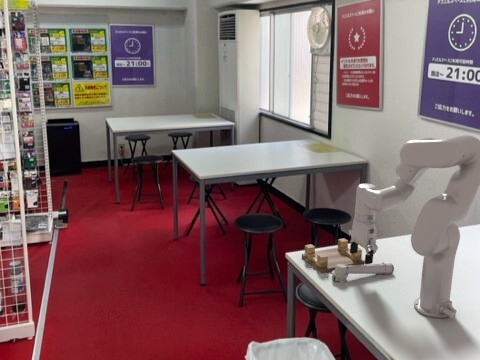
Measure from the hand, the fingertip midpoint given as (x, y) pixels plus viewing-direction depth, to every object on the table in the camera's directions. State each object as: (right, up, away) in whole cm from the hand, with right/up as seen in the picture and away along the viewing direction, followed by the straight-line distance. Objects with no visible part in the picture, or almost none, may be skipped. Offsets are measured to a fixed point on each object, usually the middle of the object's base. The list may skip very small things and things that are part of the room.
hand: (360, 258), depth 195 cm
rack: (-8, -3, +14) cm, 17 cm away
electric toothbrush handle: (+1, -8, +1) cm, 8 cm away
